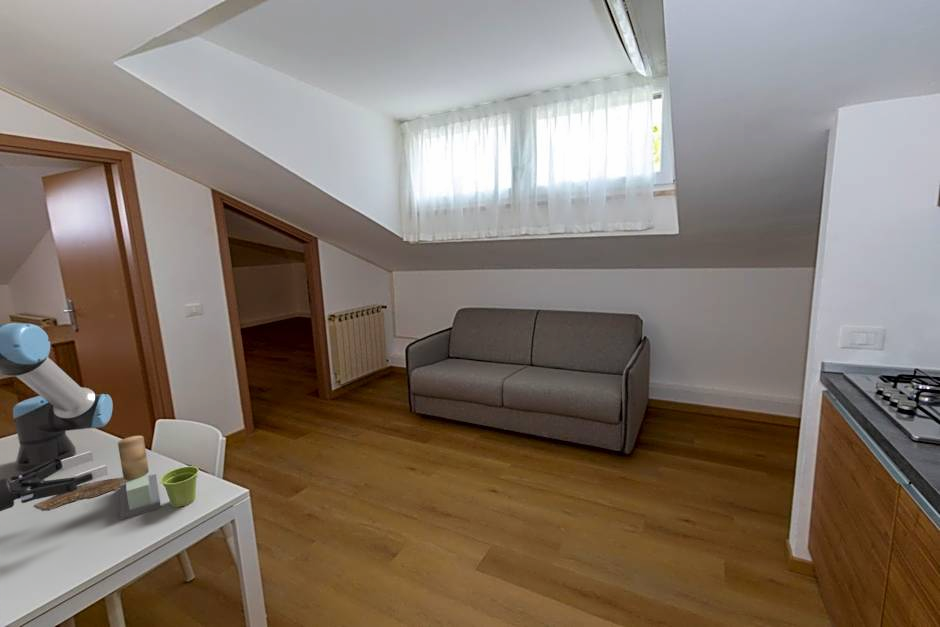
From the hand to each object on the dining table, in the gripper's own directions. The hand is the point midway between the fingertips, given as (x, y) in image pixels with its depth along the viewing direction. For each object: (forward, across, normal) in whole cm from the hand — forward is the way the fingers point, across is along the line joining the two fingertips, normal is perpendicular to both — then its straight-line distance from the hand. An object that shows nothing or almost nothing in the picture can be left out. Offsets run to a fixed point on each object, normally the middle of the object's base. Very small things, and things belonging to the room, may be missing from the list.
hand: (99, 462), depth 120 cm
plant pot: (+15, +13, -15) cm, 25 cm away
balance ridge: (+8, 0, -15) cm, 17 cm away
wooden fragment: (0, -17, -16) cm, 23 cm away
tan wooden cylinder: (+8, 0, -8) cm, 11 cm away
